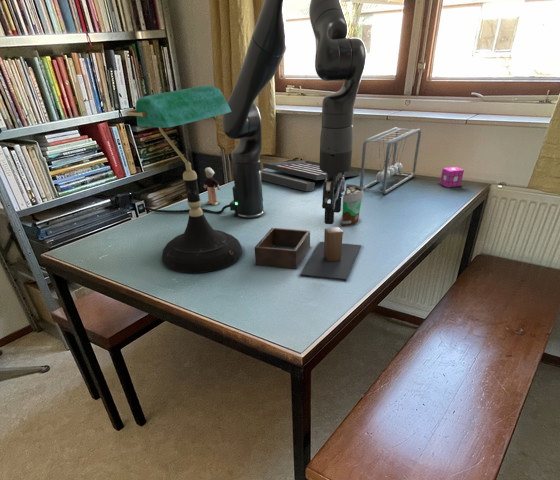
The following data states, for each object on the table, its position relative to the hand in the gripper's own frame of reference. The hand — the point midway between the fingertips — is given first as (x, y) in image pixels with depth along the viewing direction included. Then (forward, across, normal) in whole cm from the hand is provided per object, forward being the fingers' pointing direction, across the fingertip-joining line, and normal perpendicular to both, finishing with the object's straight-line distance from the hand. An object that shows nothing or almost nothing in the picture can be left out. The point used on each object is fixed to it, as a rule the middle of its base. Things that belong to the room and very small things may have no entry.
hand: (332, 217), depth 108 cm
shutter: (+12, -80, -29) cm, 86 cm away
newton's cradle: (+12, -76, +6) cm, 77 cm away
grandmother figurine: (+13, -39, -54) cm, 68 cm away
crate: (+12, 0, -14) cm, 18 cm away
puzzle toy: (+12, -78, +30) cm, 85 cm away
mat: (+12, 0, 0) cm, 12 cm away
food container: (+12, -31, 0) cm, 33 cm away
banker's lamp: (+12, +5, -37) cm, 39 cm away
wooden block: (+11, 0, 0) cm, 11 cm away
